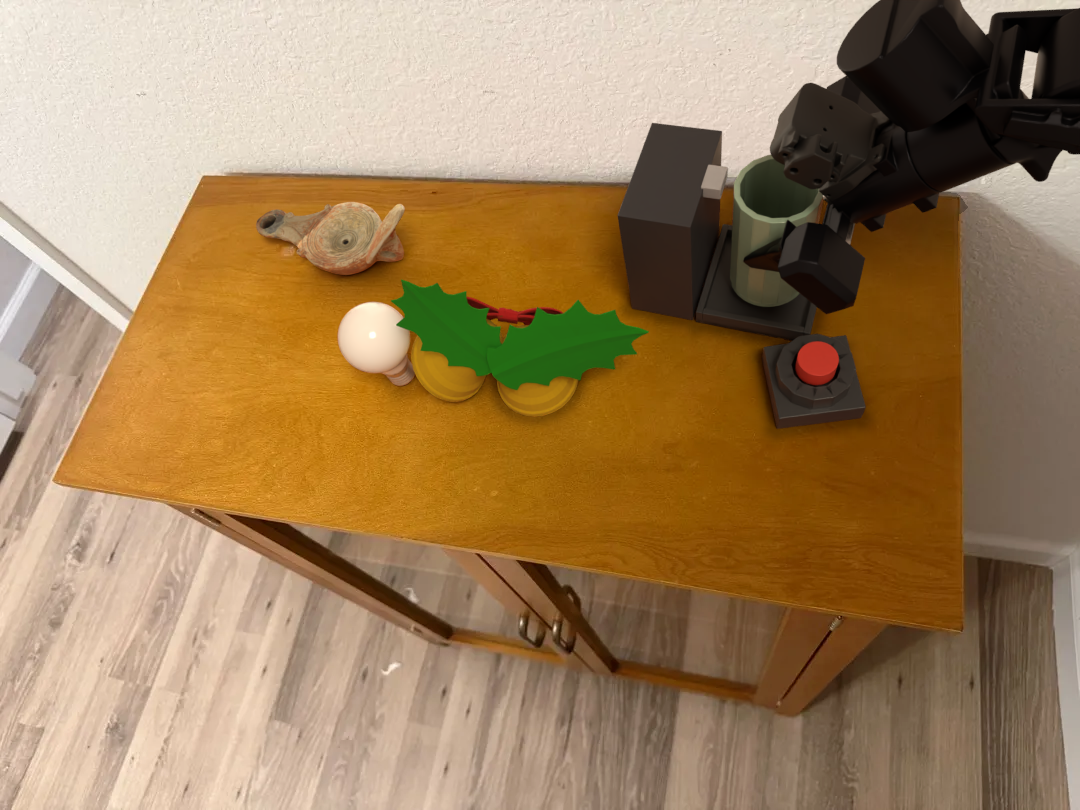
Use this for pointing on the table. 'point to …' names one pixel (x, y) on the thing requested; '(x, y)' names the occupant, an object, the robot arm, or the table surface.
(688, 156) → the coffee maker
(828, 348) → the button
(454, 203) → the table surface
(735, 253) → the cup
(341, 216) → the oil lamp
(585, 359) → the ornament
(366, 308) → the lightbulb
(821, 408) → the button block
